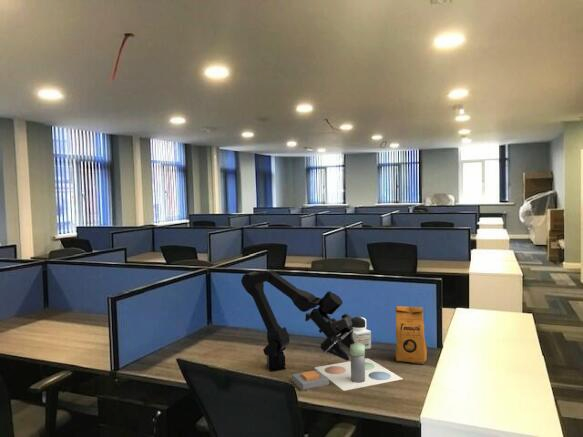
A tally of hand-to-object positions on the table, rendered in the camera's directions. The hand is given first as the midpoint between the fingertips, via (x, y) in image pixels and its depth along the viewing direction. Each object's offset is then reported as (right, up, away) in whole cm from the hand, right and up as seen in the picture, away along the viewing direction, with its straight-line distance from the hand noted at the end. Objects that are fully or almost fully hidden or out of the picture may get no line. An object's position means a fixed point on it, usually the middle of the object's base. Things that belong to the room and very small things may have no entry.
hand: (353, 355), depth 171 cm
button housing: (-15, -10, -1) cm, 18 cm away
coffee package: (+26, -8, +20) cm, 34 cm away
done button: (-15, -9, -1) cm, 18 cm away
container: (+8, -7, +39) cm, 40 cm away
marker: (+2, -8, 0) cm, 9 cm away
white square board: (+2, -9, +6) cm, 11 cm away
